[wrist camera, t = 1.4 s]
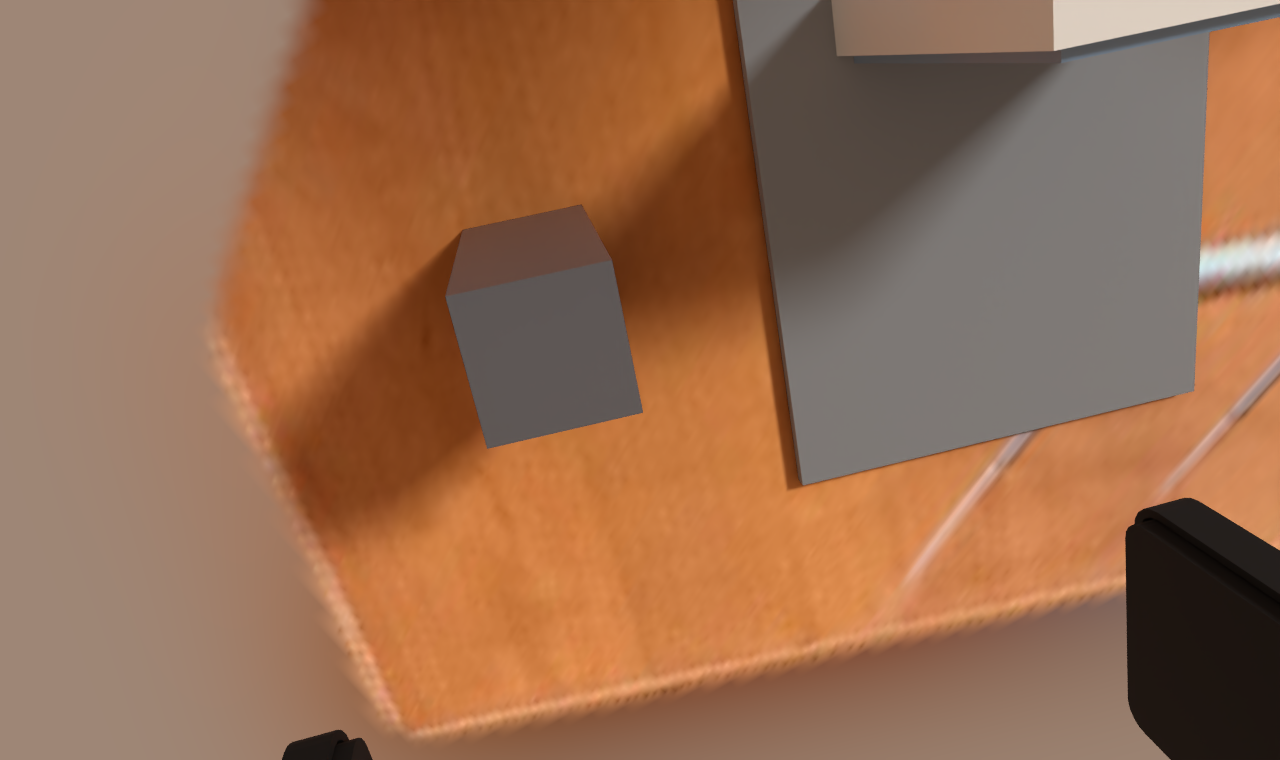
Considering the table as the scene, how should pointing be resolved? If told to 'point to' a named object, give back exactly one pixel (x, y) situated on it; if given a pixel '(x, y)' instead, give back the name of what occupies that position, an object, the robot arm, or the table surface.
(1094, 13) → the tile
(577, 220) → the block
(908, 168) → the mat
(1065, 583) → the table surface
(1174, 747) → the robot arm
